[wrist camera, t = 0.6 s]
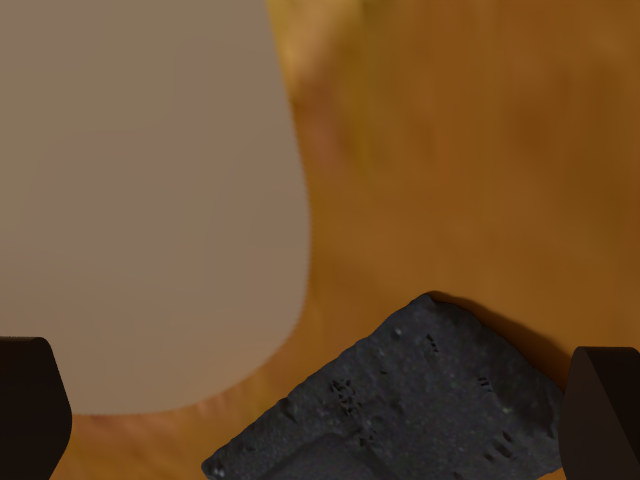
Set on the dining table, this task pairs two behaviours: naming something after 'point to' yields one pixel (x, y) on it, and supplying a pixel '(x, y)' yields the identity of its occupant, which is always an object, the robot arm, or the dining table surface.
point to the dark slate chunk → (408, 410)
